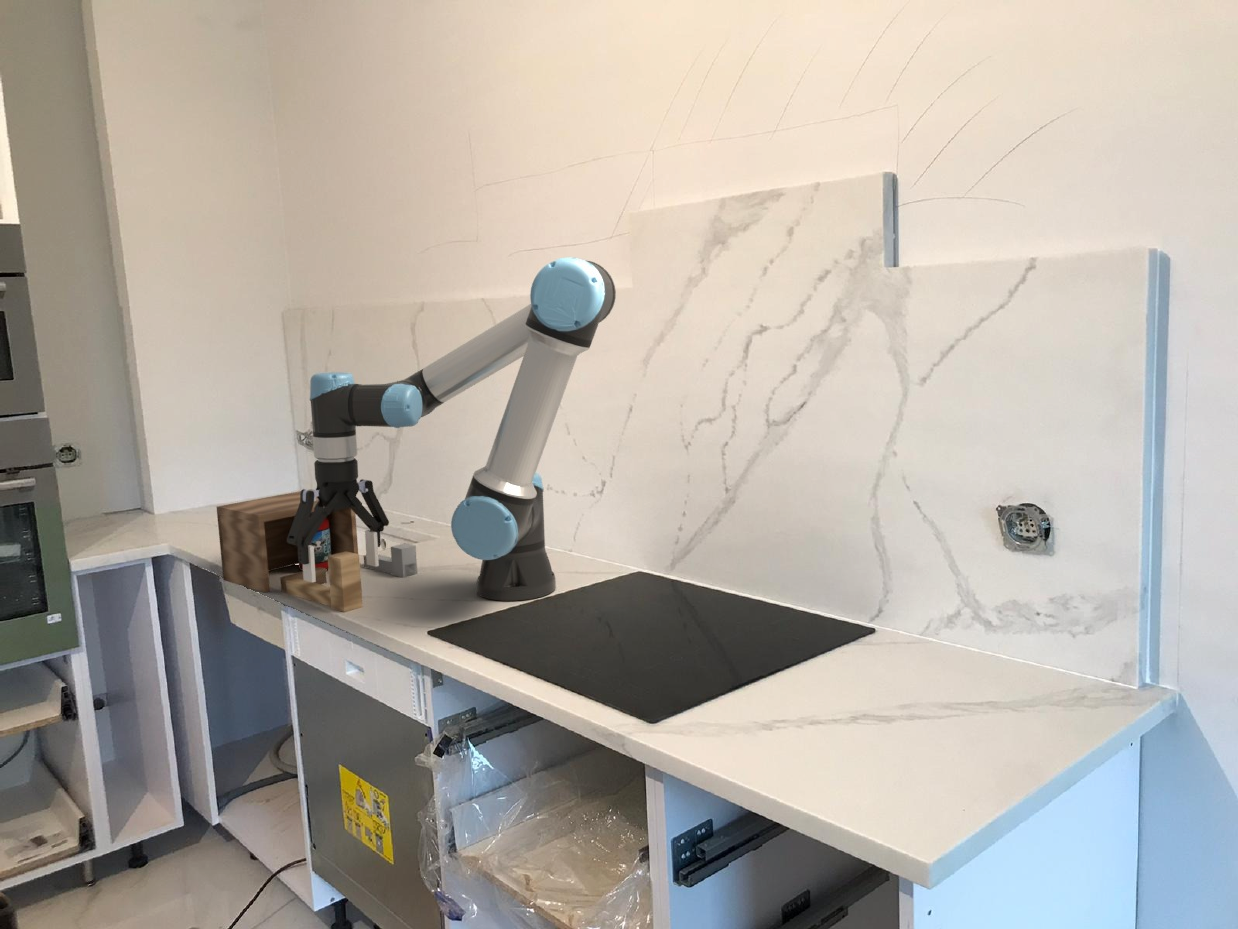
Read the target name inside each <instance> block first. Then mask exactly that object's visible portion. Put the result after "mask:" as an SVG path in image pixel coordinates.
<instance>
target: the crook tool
mask: <svg viewBox="0 0 1238 929" xmlns="http://www.w3.org/2000/svg"><path fill="white" fill-rule="evenodd" d="M360 562H361V561H360V554H359V553H358V554H355V553H351V552H347V551H345V552H341V553H337V554H333V555H329V556H328V569H327V570H328V580H329V586H327V585H324V583H325V584H327V582H328V581H327V570H326V568H322V567H318V568H315V576H316V582H309V581H305V580H304V579H303V570H302V571H299V572H295V573H291V574H285V575H283V576H280V577H279V580H280V591H281V593H284V594H287V595H291V596H294V597H298V598H302V599H303V600H304V599H305V600H309V601H311V602H315V603H319V604H321V605H322V604H323V605H325V606H329V607H330V608H331V610H332V609H333V610H335V611H339V612H342V613H347V612H350V611H354V610H356V609H360V608H363V607H364V606H363V604H364V603H363V593H362V592H363V590H362V579H361V578H362V577H361V563H360Z"/></svg>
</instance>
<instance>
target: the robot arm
mask: <svg viewBox="0 0 1238 929" xmlns="http://www.w3.org/2000/svg"><path fill="white" fill-rule="evenodd" d="M529 296H530V304H528V305H526V306H525V307H523V308H521V309H520V310H518V311H516V312H514V313H513V314H512V315H510V316H508V317H507V318H504V319H503V320H501V321H500V322H498V323H497V324H495V325H493V326H491V327H490V328H488V329H487V330H485V331H483V332H481V333H480V334H478V335H476V336H475V337H473V338H472V339H471V338H470V339H469V340H468V341H466V342H464V343H463V344H462V345H460V346H459V347H457V348H455V349H453V350H451V351H450V352H448V353H447V354H445V355H443V356H442V357H440V358H438V359H436V360H434V361H433V362H432V363H430V364H429V365H427V366H425V367H423V368H422V369H420V370H418V371H417V372H415V373H413V374H412V375H410V376H408V377H406V378H405V379H401V380H397V381H392V382H388V383H381V384H380V383H378V384H377V383H376V384H374V383H373V384H362V383H361V384H358V383H355V380H354V376H353V374H352V373H351V372H343V371H342V372H341V371H340V372H339V371H337V372H335V371H334V372H333V371H332V372H318V373H315V374H313V375H312V376H311V377H310V380H309V381H310V384H309V385H310V387H309V389H310V392H309V394H310V395H309V401H310V410H311V424H312V425H311V426H312V442H313V446H312V447H313V457H314V458H315V462H314V464H313V465H314V466H313V468H314V479H315V482H316V487H315V489H312V490H310V489H304V488H303V489H301V490H300V491H301V494H300V504H299V507H298V509H297V512H296V515H295V518H294V521H293V523H292V526H291V529H290V532H289V535H288V537H287V543H289V544H293V545H297V547H298V557H299V558H298V559H299V563H300V564H303V570H302V571H303V579H304V580H305V581H309V582H316V576H315V559H314V546H311V545H309V544H310V543H311V541H312V539H313V538H314V536H315V534H316V533H317V531H318V529H319V528H320V526H321V525H322V523H323V521H324V520H325V518H326V516H327V515H329V514H330V513H331V511H338V510H340V509H348V508H349V507H350V508H351V509H352V510H353V512H354V513H355V515H356V517H358V518H359V519H360V521H362V523H363V524H364V525H365V526H366V527H367V528H368V529H367V530H364V533H365V534H364V537H365V540H364V541H365V555H366V560H367V565H371V566H375V567H376V566H379V561H378V555H379V548H380V547H381V545H382V544H381V533H382V532H383V531H384V529H385V527H388V526H389V525H390V521H389V518H388V516H387V514H386V513H385V511H384V509H383V506H382V505H381V503H380V501H379V499H378V497H377V495H376V493H375V490H374V486H373V485H374V484H373V481H372V480H368V479H363V478H362V479H360V480H359V482H358V480H357V479H358V477H359V469H358V468H359V466H358V460H357V459H356V458H355V457H357V456H358V444H357V430H356V429H357V427H379V428H380V427H383V428H384V427H385V428H395V429H400V428H406V427H407V428H408V427H414V426H416V425H417V424H418V423H419V421H420V419H421V418H423V417H426V416H427V415H429V414H432V412H433V411H434V410H435V409H436V408H438V407H440V406H441V405H443V404H445V402H448V401H449V400H451V399H452V398H454V397H456V396H458V395H459V394H461V393H463V392H465V391H466V390H468V389H470V388H471V387H473V386H475V385H476V384H479V383H480V382H481V381H482V382H483V380H485V379H488V378H489V377H491V376H492V375H494V374H496V373H497V372H499V371H501V370H502V369H504V368H506V367H507V366H509V365H511V364H513V363H515V362H516V361H518V360H519V359H522V360H521V363H520V366H519V368H518V372H517V374H516V378H515V380H514V383H513V386H512V389H511V392H510V395H509V398H508V401H507V404H506V407H505V409H504V412H503V415H502V418H501V421H500V424H499V426H498V429H497V432H496V435H495V438H494V441H493V444H492V446H491V450H490V453H489V455H488V457H487V461H486V464H485V465H484V466H483V467H481V468H479V469H477V470H475V471H474V473H473V475H472V477H471V480H470V483H469V486H468V489H467V492H466V495H465V498H464V499H463V500H462V501H460V503H459V504H458V505H457V507H456V508H455V509H454V511H453V514H452V517H451V520H450V521H451V523H450V526H451V529H450V530H451V533H452V537H453V538H454V540H455V542H456V544H457V546H458V547H459V548H460V549H461V551H463V552H464V553H466V554H467V555H468V556H470V557H472V558H474V559H478V560H482V561H481V566H480V571H479V575H478V576H477V579H476V593H477V595H478V596H480V597H482V598H485V599H488V600H495V601H507V602H508V601H512V602H514V601H525V600H526V601H527V600H532V599H536V598H541V597H545V596H547V595H549V594H551V593H553V592H554V591H556V587H557V586H556V576H555V573H554V571H553V569H552V566H551V562H550V560H549V557H548V553H547V551H546V541H545V540H546V539H545V538H546V537H545V534H546V533H545V514H544V511H545V509H544V487H543V480H542V476H541V475H540V474H539V473H537V469H538V466H539V464H540V461H541V459H542V456H543V452H544V450H545V447H546V445H547V444H546V443H547V441H548V439H549V435H550V433H551V430H552V427H553V424H554V422H555V419H556V417H557V413H558V411H559V408H560V406H561V402H562V399H563V397H564V394H565V392H566V391H565V390H566V389H567V386H568V384H569V383H568V382H569V381H570V377H571V374H572V372H573V369H574V367H575V363H576V360H577V358H578V356H579V355H580V354H582V353H584V352H586V351H588V350H590V347H591V345H592V343H593V339H594V337H595V335H596V331H597V329H598V326H599V323H602V321H604V320H605V319H607V317H608V316H609V315H610V313H611V312H612V310H613V308H614V305H615V302H616V296H617V295H616V284H615V283H614V280H613V278H612V276H611V275H610V273H609V272H608V271H607V270H606V269H605V268H604V267H603V266H601V265H600V264H598V263H596V262H594V261H590V260H584V259H580V258H576V257H569V256H568V257H562V258H557V259H556V260H554V261H551V262H549V263H548V264H546V265H544V267H542V268H541V269H540V270H539V272H537V274H536V275H535V277H534V279H533V281H532V282H531V288H530V295H529ZM358 493H361V495H362V496H361V497H362V498H363V500H364V502H365V504H366V506H367V507H368V509H366V507H365V506H364V505H363V502H361V500H360V499H359V498H358V497H357V495H358ZM316 497H317V498H318V499H319V501H318V502H317V504H316V506H315V507H314V512H313V514H312V515H311V517H310V514H311V511H312V508H313V504H314V501H316ZM323 507H325V508H323ZM368 510H369V511H368ZM309 517H310V519H309ZM299 563H298V564H299Z"/></svg>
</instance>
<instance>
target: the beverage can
mask: <svg viewBox="0 0 1238 929" xmlns="http://www.w3.org/2000/svg"><path fill="white" fill-rule="evenodd" d="M312 514H313V512H311V514H310V517H311V515H312ZM310 517H309V519H310ZM309 545H311V546H314V559H315V568H318V567H322V568H326V569H327V570H329V569H328V556H329V555H331V543H330V530H329V520H328V519H327V517H326V518H325V520H324V521H323V523H322V525H321V526H320V528H319V529H318V531H317V533H316V534H315V536H314V538H313V539H312V541H311V543H310V544H309ZM297 549H298V547H297ZM298 558H299V557H298ZM298 560H299V559H298ZM298 568H299V569H300V570H302V571H303V564H300V563H298Z"/></svg>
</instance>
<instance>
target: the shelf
mask: <svg viewBox="0 0 1238 929" xmlns="http://www.w3.org/2000/svg"><path fill="white" fill-rule="evenodd" d="M309 490H313V489H311V488H310V489H309ZM300 494H301V490H300V491H294V492H288V493H284V494H283V493H282V494H277V495H273V496H272V495H271V496H267V497H261V498H257V499H256V498H255V499H251V500H245V501H239V502H234V503H228V504H223V505H218V506H216V516H217V527H218V535H219V536H218V537H219V547H220V548H219V549H220V558H221V567H222V568H221V570H222V577H223V578H222V579H223V581H225V582H229V583H232V584H236V585H238V586H242V587H245V588H248V589H251V590H255V591H259V592H262V593H265V594H266V593H270V592H271V589H270V588H271V587H270V586H271V585H270V576H269V575H270V574H269V571H272V570H273V571H274V570H277V569H281V568H285V567H289V566H294V565H297V564H298V565H299V560H298V549H297V545H293V544H289V543H287V537H288V535H289V532H290V529H291V526H292V523H293V521H294V518H295V515H296V512H297V509H298V507H299V504H300ZM318 501H319V499H318V498H317V497H316V501H314V504H313V508H312V511H311V512H314V507H315V506H316V504H317V502H318ZM323 508H325V507H323ZM326 517H327V519H328V520H329V530H330V543H331V555H333V554H337V553H341V552H345V551H347V552H351V553H355V554H359V546H358V544H359V543H358V532H357V518H356V517H357V515H356V514H355V513H354V512H353V510H352V509H351V508H350V507H349V508H348V509H340V510H338V511H331V513H330V514H329V515H327V516H326Z"/></svg>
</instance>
